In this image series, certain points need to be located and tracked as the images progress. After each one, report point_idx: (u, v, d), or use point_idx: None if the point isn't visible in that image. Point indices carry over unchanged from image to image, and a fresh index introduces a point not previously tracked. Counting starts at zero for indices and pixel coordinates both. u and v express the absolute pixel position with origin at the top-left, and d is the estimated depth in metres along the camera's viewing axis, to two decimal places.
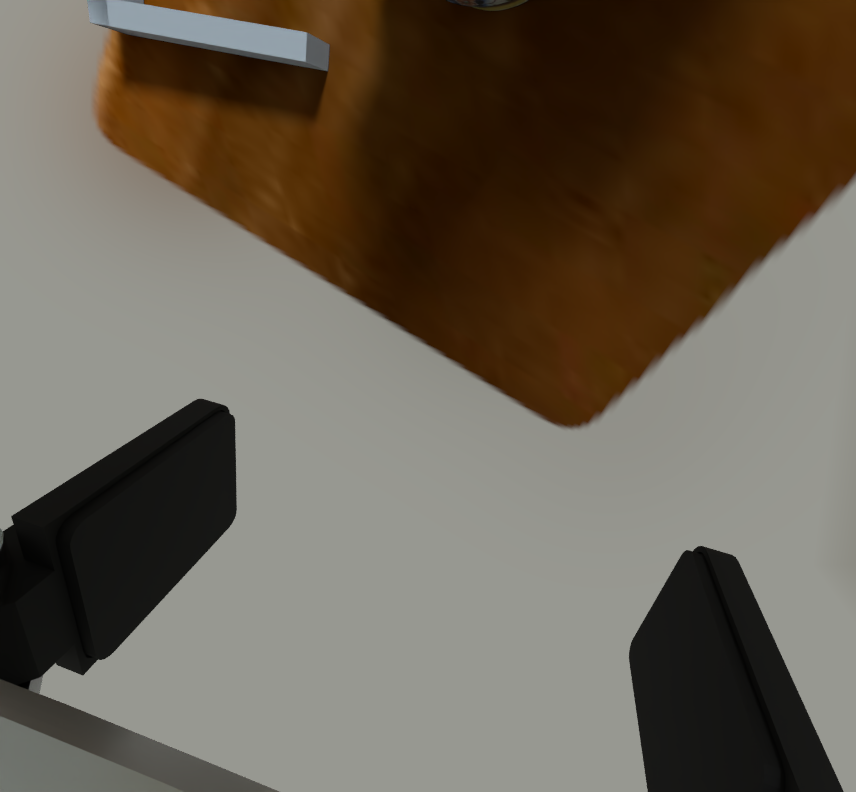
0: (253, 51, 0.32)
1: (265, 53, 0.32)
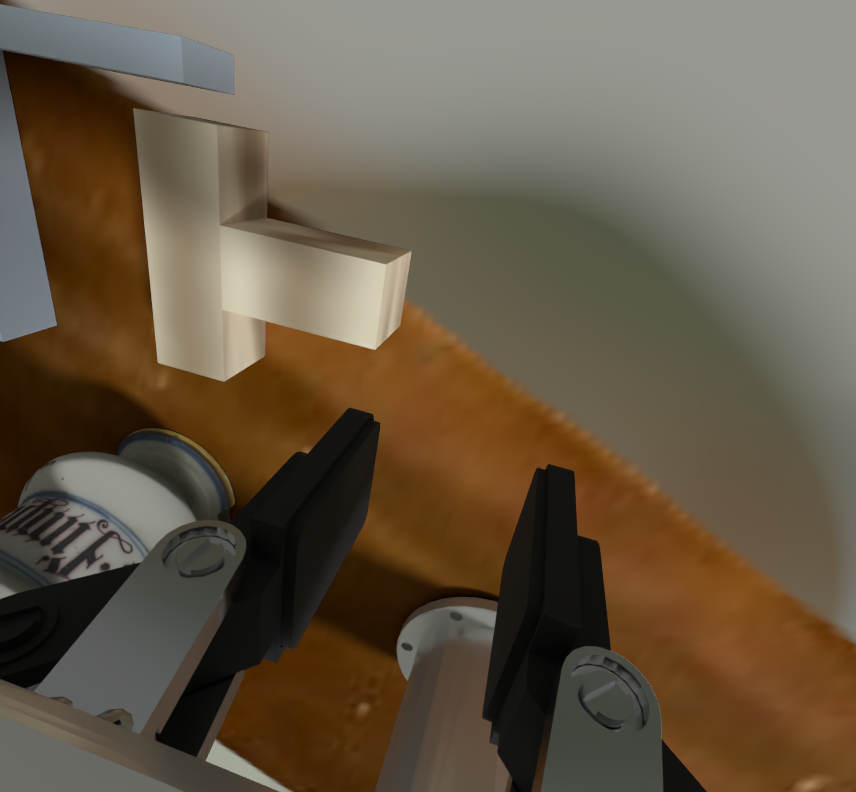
0: None
1: None
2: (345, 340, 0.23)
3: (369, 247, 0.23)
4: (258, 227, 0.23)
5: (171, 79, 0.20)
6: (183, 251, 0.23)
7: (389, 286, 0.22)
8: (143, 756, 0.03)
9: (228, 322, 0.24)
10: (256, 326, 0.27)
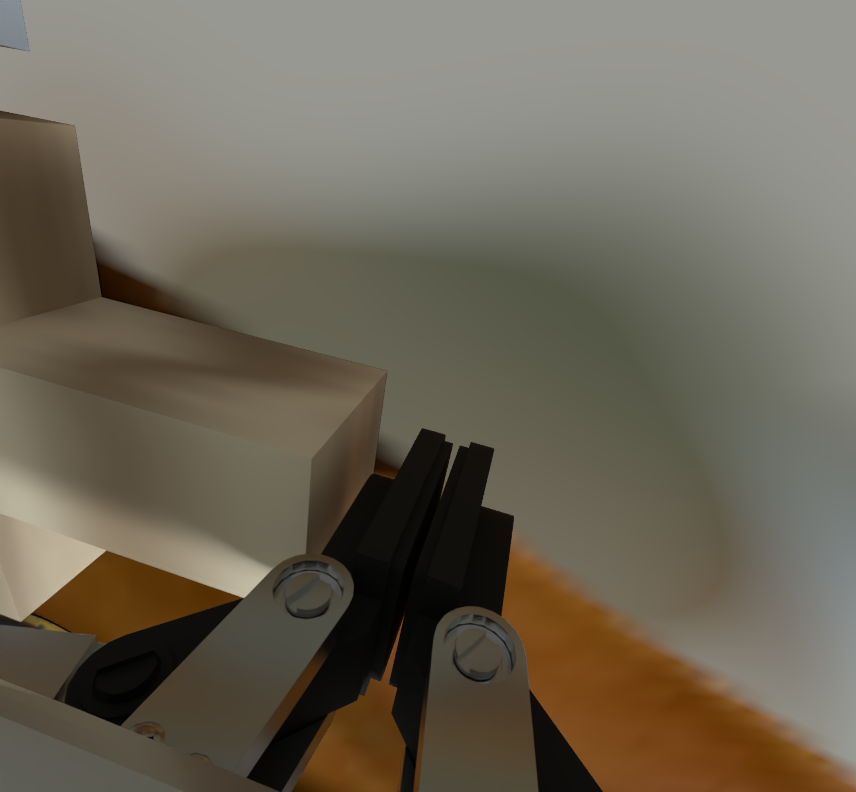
0: None
1: None
2: (236, 592, 0.10)
3: (292, 375, 0.10)
4: (40, 338, 0.10)
5: None
6: None
7: (330, 483, 0.09)
8: (143, 756, 0.03)
9: (11, 520, 0.12)
10: None
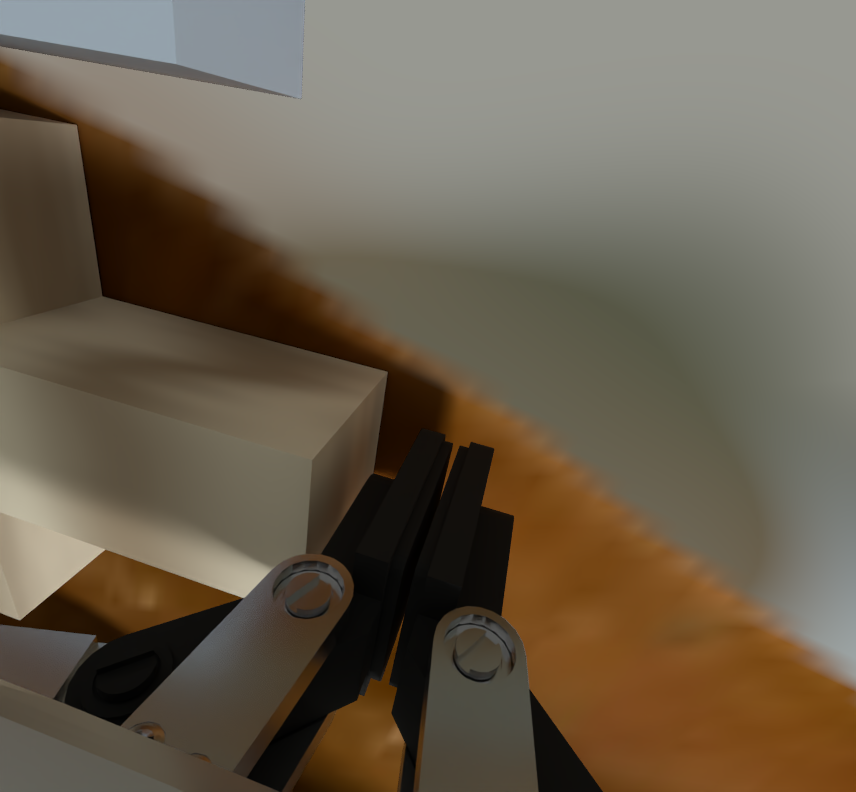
0: None
1: None
2: (235, 592, 0.10)
3: (293, 376, 0.10)
4: (41, 337, 0.10)
5: (138, 54, 0.06)
6: None
7: (330, 483, 0.09)
8: (142, 756, 0.03)
9: (11, 518, 0.12)
10: None
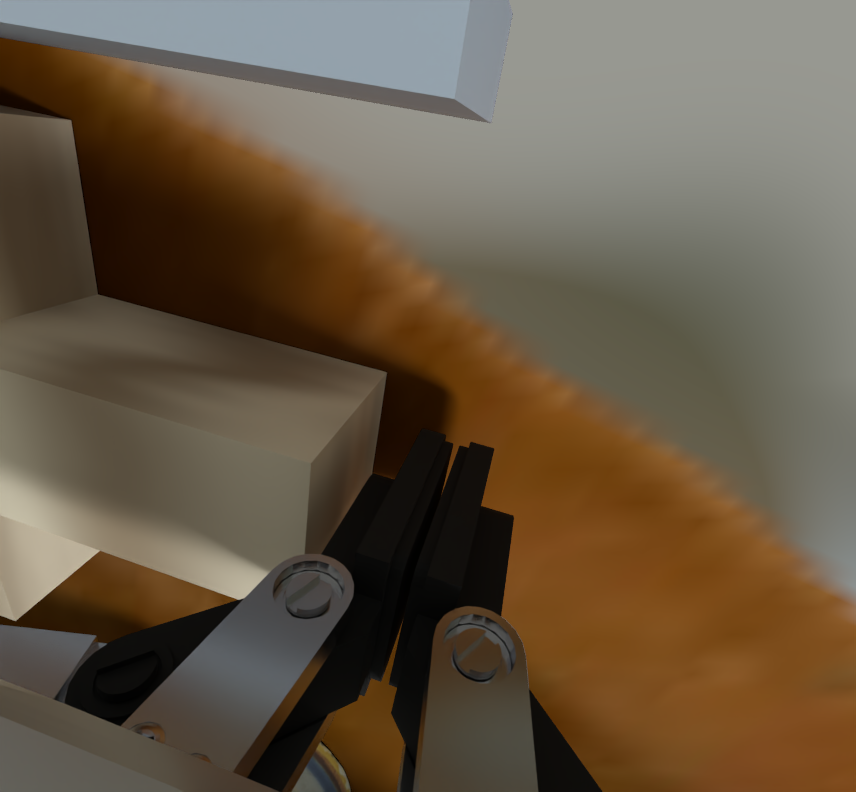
0: None
1: None
2: (233, 595, 0.10)
3: (291, 376, 0.10)
4: (36, 336, 0.10)
5: (407, 86, 0.06)
6: None
7: (329, 486, 0.09)
8: (143, 756, 0.03)
9: (6, 519, 0.12)
10: None
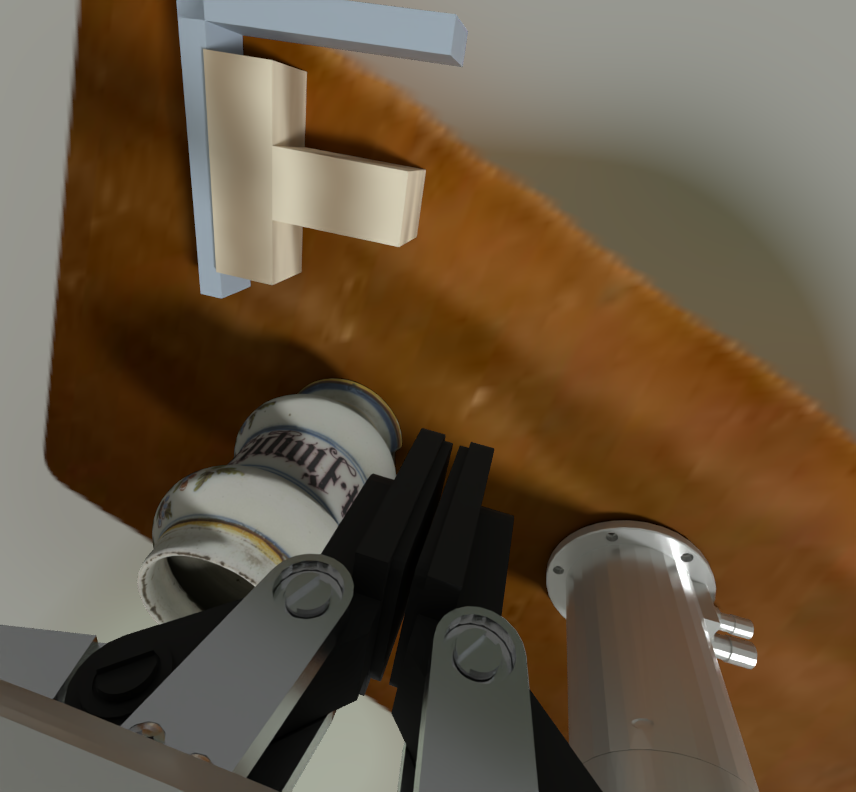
0: (197, 235, 0.31)
1: (197, 250, 0.31)
2: (374, 240, 0.28)
3: (392, 165, 0.28)
4: (301, 149, 0.28)
5: (439, 52, 0.23)
6: (241, 170, 0.28)
7: (410, 193, 0.27)
8: (143, 756, 0.03)
9: (276, 233, 0.29)
10: (295, 243, 0.32)
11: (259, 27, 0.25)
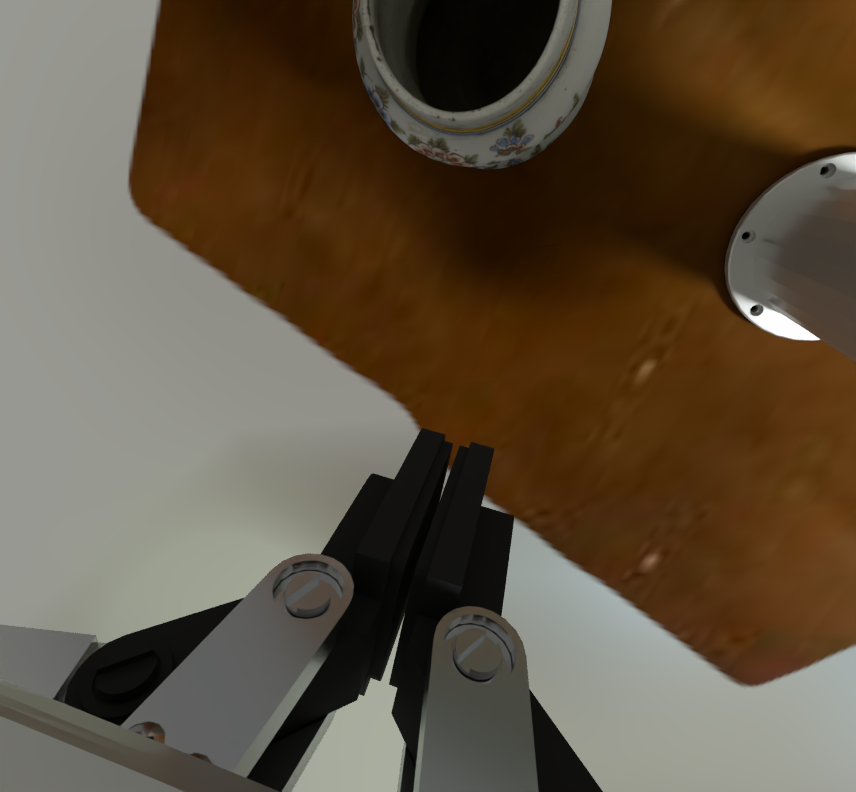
0: None
1: None
2: None
3: None
4: None
5: None
6: None
7: None
8: (143, 756, 0.03)
9: None
10: None
11: None
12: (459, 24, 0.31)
